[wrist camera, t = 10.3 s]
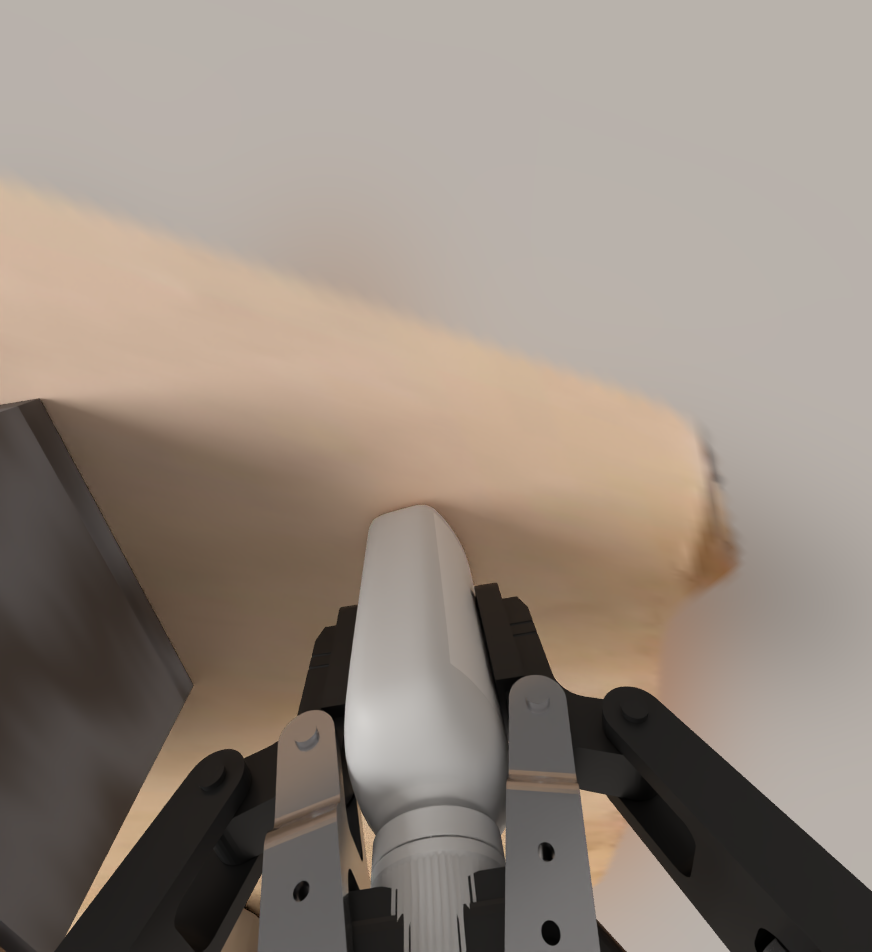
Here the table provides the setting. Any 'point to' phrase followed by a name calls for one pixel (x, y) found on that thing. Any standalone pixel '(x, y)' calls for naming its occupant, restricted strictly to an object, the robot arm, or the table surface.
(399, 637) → the eye dropper bottle
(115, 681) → the box
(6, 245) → the table surface
